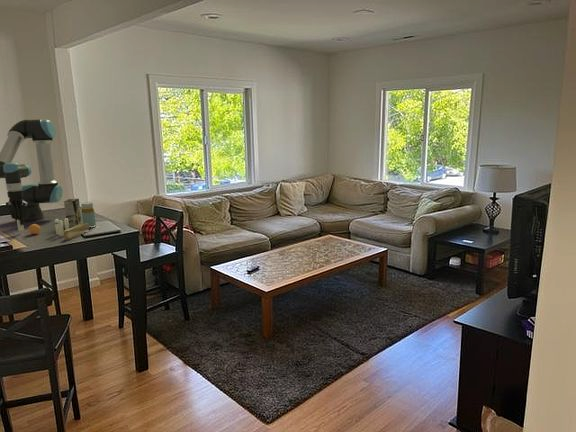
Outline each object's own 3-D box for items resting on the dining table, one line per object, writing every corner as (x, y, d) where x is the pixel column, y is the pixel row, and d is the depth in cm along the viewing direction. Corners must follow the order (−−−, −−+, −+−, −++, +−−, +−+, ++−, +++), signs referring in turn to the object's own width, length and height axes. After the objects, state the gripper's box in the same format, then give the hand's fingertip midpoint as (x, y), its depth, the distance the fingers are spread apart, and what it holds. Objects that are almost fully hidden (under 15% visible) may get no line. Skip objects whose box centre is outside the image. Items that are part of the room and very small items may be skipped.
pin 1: (59, 236, 246) (57, 221, 243) (61, 235, 247) (59, 220, 245) (62, 236, 245) (60, 221, 243) (65, 235, 247) (62, 220, 245)
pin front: (55, 235, 249) (53, 219, 247) (58, 234, 251) (55, 219, 249) (58, 235, 248) (56, 220, 246) (61, 234, 250) (59, 219, 248)
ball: (26, 235, 249) (25, 225, 248) (34, 232, 255) (32, 222, 254) (36, 235, 248) (34, 225, 247) (43, 232, 254) (41, 222, 253)
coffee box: (78, 226, 267) (74, 200, 264) (66, 227, 266) (63, 201, 263) (82, 223, 276) (79, 198, 273) (71, 223, 275) (68, 198, 272)
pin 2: (65, 234, 250) (63, 219, 248) (67, 233, 252) (65, 218, 250) (68, 234, 250) (66, 219, 248) (70, 233, 252) (68, 218, 250)
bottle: (91, 228, 261) (88, 204, 258) (81, 228, 263) (78, 204, 259) (98, 225, 268) (95, 202, 265) (88, 225, 269) (85, 201, 266)
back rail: (64, 239, 239) (63, 230, 238) (84, 231, 256) (83, 222, 255) (69, 239, 239) (68, 231, 237) (89, 231, 256) (88, 223, 255)
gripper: (-1, 191, 245) (6, 231, 250) (19, 191, 243) (26, 232, 248) (10, 189, 252) (16, 228, 257) (29, 189, 250) (35, 229, 255)
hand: (21, 230), depth 253 cm, fingers closed
